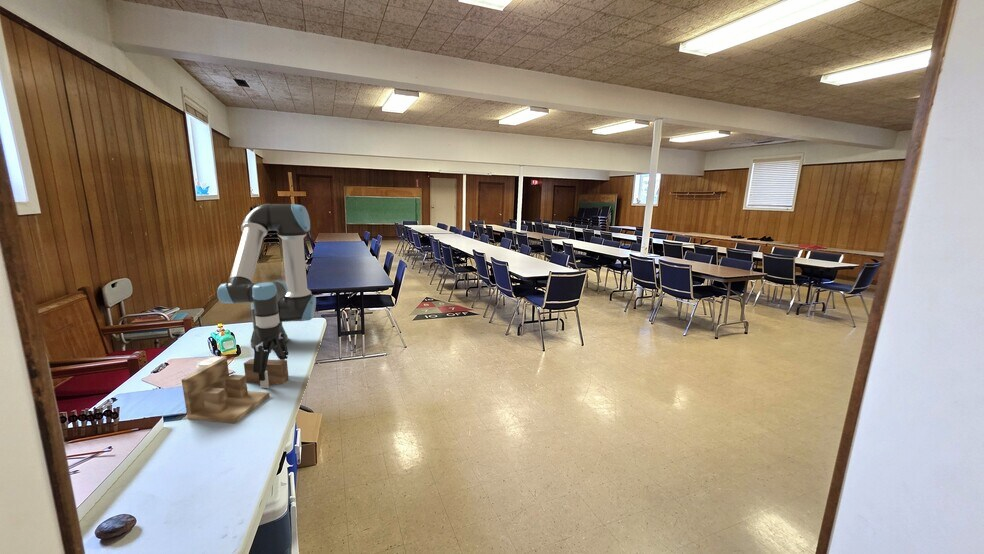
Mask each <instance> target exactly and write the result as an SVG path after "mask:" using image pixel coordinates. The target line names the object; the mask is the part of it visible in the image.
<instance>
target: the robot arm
mask: <svg viewBox="0 0 984 554" xmlns="http://www.w3.org/2000/svg"><path fill="white" fill-rule="evenodd" d="M310 230H311V220H310V215H309V212H308V210H307V208H306V207H305V206H304V205H302V204H293V203H291V204H290V203H265V204H264V203H263V204H260V205H258V206H256V207H254V208H253V209H252V210H251V211H249V213H247V215H246V216H245V217H244V218H243V221H242V223H241V226H240V231H241V232H242V234H241V236H240V240H239V244H238V248H237V252H236V253H235V254H236V255H235V258H234V262H233V264H232V269H231V272H230V274H229V275H230V276H229V279H228V282H225V283H220V285H219V286H218V288H217V291H216V293H217V295H216V296H217V299H218V301H219V302H220V303H222V304H231V305H232V304H233V305H234V304H249V303H250V311H251V319H252V328H253V330H252V334H251V339H250V347H251V348H253V351H254V352H253V359H254V366H253V372H254V373H259V380H260V383H259V385H260V388H262V389H269V388H270V384H269V382H268V372H267V371H266V366H267V361H268V360H269V356H270V354H271V352H272V350H273V352H274V353H275V355H276V356H277V357H276V358H277V359H276V360H288V355H289V350H288V347H287V343H288V341H289V338H288V335H287V332H286V331H285V329H284V326H283V322H284V323H286V322H306V321H307V322H309V321H312V319H313V318H314V316H315V313H316V307H317V306H316V305H317V298H316V296H315V295H312V290H310V289H309V288H308V282H307V279H308V278H307V271H306V270H307V268H306V257H305V256H306V255H305V254H306V253H305V244H304V243H305V241H304V239H305V237H306V236H307V234H308V233H307V232H309V231H310ZM269 231H270V232H271V231H273V232H274V231H276V234H277V236H278V237H279V238H281V246H282V254H283V255H282V256H283V265H284V266H283V267H284V276H285V282H283V281H282V280H272V281H270V282H269V281H267V282H253V279H254V275H255V271H256V268H257V264H258V260H259V256H260V253H261V247H262V243H263V240H264V238H265V237H266V236H267V235H268V232H269Z"/></svg>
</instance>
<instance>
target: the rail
mask: <svg viewBox="0 0 984 554" xmlns="http://www.w3.org/2000/svg"><path fill="white" fill-rule="evenodd" d="M253 366H254V358H250V359H248V360H247V361H245V362H243V367H244V375H245V376H246V383H248V384H260V380H259V373H254V372H253ZM266 371H267V372H268V382H269V385H284V384H285V383H287V382H288V381H289V380H290V379H289V378H290V376H289V367H288V359H285V360H277V359H268V361H267V366H266Z"/></svg>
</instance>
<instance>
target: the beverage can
mask: <svg viewBox="0 0 984 554" xmlns="http://www.w3.org/2000/svg"><path fill="white" fill-rule="evenodd" d="M221 358H223V357H222V356H218V355H213V356H208V357H204V358H202V359H200V360H198V361H197V364H196V366H195V368H196V372H197V371H199V370H200V369H202V368H204V367H206V366H208V365H210V364H212V363H214V362H215V361H217V360H219V359H221Z"/></svg>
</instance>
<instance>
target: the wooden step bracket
mask: <svg viewBox="0 0 984 554" xmlns="http://www.w3.org/2000/svg"><path fill="white" fill-rule="evenodd" d="M181 386H182V391H183V397H184V403H185V410H186V416H187V420H188V419H189V420H196V421H197V420H199V421H207V422H219V423H228V424H229V423H230V424H236V423H237V422H238V421H240V420H241V419H242V418H244V417H245V416H247V415H248V414H249V413H250V412H251V411H253V410H254V409H255V408H257V407H258V406H259V405H261V404H262V403H264V401H266V400H267V399H268V398H270V392H268V391H267V392H265V391H258V390H257V391H255V390H248V385H247V383H246V376H245V374H244V375H243V374H232V373H231V375H230V371H229V364H228V358H227V357H222V358H221V359H219V360H217V361H215V362H214V363H212V364H210V365H208V366H206V367H204V368H202V369H200V370H199V371H197V370H196V371H195V372H193V373H192V374H191V373H190V374H189V375H187V376H186V377H184V378H182V379H181Z"/></svg>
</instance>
